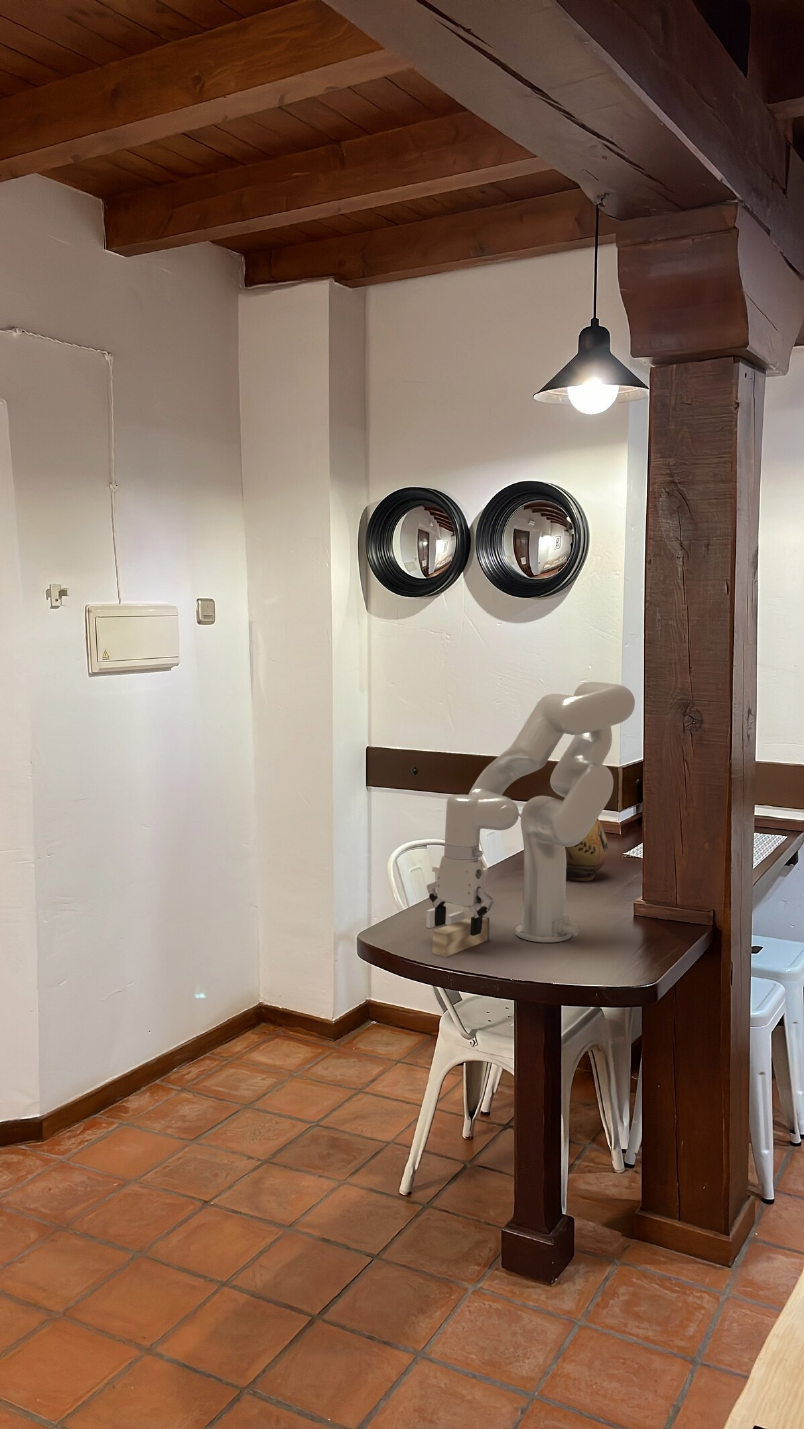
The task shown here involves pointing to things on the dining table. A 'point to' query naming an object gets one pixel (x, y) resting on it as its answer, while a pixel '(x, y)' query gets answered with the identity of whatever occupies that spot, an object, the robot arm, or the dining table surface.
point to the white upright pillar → (450, 907)
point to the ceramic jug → (587, 855)
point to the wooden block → (458, 937)
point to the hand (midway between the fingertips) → (457, 929)
